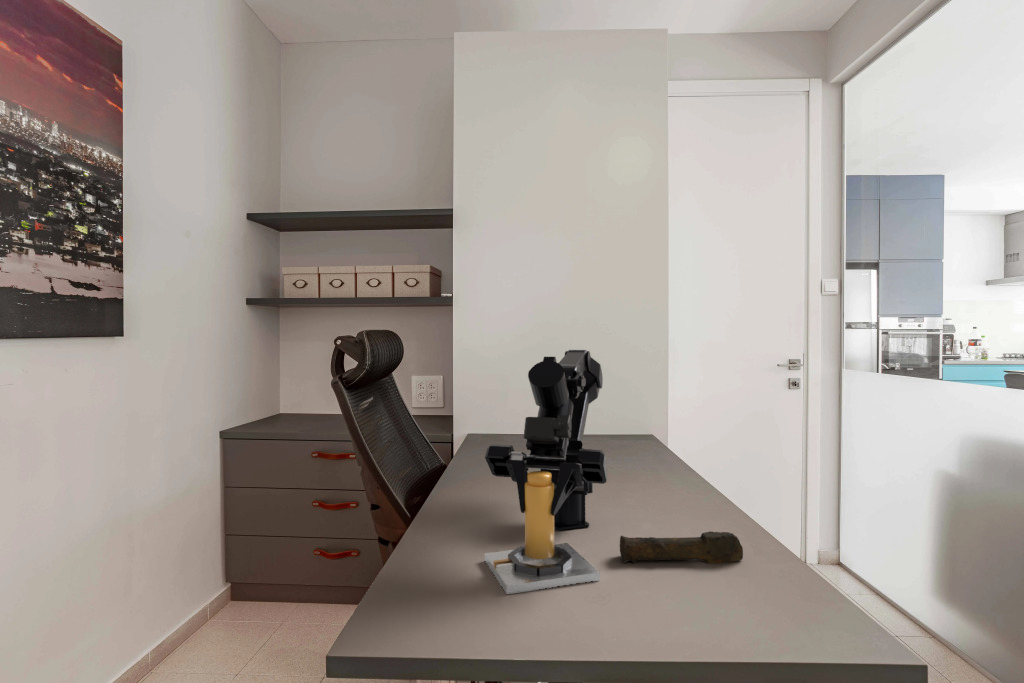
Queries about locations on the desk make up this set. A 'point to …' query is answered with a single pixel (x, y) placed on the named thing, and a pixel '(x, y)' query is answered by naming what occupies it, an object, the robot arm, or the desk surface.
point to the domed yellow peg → (539, 515)
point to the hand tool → (683, 548)
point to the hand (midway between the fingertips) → (537, 512)
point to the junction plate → (540, 569)
